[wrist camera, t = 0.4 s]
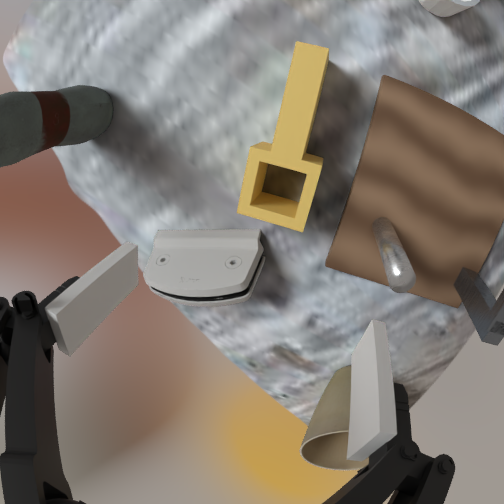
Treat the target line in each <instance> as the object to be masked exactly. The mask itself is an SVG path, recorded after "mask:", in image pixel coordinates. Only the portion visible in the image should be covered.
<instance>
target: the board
mask: <svg viewBox="0 0 504 504" xmlns="http://www.w3.org/2000/svg"><path fill="white" fill-rule="evenodd" d="M379 217H385V218H387V219H389V220H390V222H391V224H392V226H393V228H394V230H395V232H396V234H397V236H398V238H399V240H400V242H401V244H402V246H403V248H404V251H405V253H406V255H407V257H408V259H409V261H410V264H411V266H412V268H413V270H414V273H415V275H416V282H415V284H414V286H413V287H412V288H411V289H410V290H409V291H407V292H408V293H412V294H415V295H418V296H421V297H424V298H427V299H430V300H434V301H437V302H440V303H443V304H446V305H449V306H452V307H455V308H458V307H459V306H460V304H461V302H462V300H461V298H460V296H459V294H458V292H457V291H456V289H455V287H454V285H453V284H454V282H455V281H456V279H457V277H458V275H459V273H460V271H461V270H462V268H463V267H465V268H467V269H470V270H472V271H475V272H477V273H479V271H480V269H481V267H482V265H483V263H484V261H485V259H486V257H487V255H488V253H489V251H490V249H491V247H492V245H493V243H494V240H495V238H496V236H497V234H498V232H499V229H500V227H501V225H502V222H503V220H504V135H503V134H501V133H500V132H498V131H497V130H495V129H494V128H492V127H490V126H489V125H487V124H486V123H484V122H482V121H481V120H479V119H477V118H476V117H474V116H472V115H470V114H469V113H467V112H465V111H463V110H461V109H460V108H458V107H456V106H454V105H452V104H450V103H448V102H446V101H444V100H442V99H440V98H438V97H436V96H434V95H432V94H430V93H427V92H425V91H423V90H421V89H419V88H416V87H414V86H412V85H409V84H407V83H404V82H402V81H399V80H397V79H394V78H392V77H389V76H386V75H383V76H382V78H381V82H380V87H379V91H378V95H377V99H376V103H375V107H374V111H373V114H372V118H371V122H370V126H369V129H368V133H367V136H366V140H365V144H364V147H363V150H362V154H361V157H360V161H359V164H358V167H357V170H356V174H355V177H354V180H353V183H352V186H351V190H350V193H349V196H348V199H347V202H346V205H345V208H344V211H343V214H342V217H341V220H340V222H339V225H338V228H337V231H336V234H335V237H334V240H333V242H332V245H331V248H330V251H329V253H328V256H327V259H326V263H325V266H326V267H329V268H332V269H335V270H339V271H342V272H345V273H348V274H351V275H355V276H358V277H361V278H364V279H367V280H371V281H374V282H377V283H380V284H383V285H386V286H389V283H388V279H387V276H386V272H385V268H384V265H383V262H382V258H381V255H380V252H379V248H378V245H377V242H376V239H375V236H374V233H373V230H372V224H373V222H374V221H375V220H376V219H377V218H379Z"/></svg>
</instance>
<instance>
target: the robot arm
mask: <svg viewBox="0 0 504 504" xmlns="http://www.w3.org/2000/svg"><path fill="white" fill-rule="evenodd" d="M137 285H138V245H135V244H132V243H130V242H126V243H124V244H123V245H122V246H120V247H119V248H118V249H116V250H115V251H114V252H112V253H111V254H110V255H109V256H107V257H106V258H104V259H103V260H102V261H101V262H99V263H98V264H97V265H96V266H94V267H93V268H92V269H90V270H89V271H88V272H87V273H85V274H84V275H83V276H82V277H78V276H76V277H73V278H71V279H68V280H67V281H66V282H64V283H63V284H62V285H61V286H60V287H58V288H57V289H56V291H53V292H52V293H51V294H50V295H49V296H47V297H46V298H45V299H44V300H43V301H41V303H39V304H38V303H37V300H36V296H35V295H34V294H33V293H32V292H30V291H22V292H20V293H18V294H16V295H15V296H14V297H13V299H12V304H13V307H10V305H9V302H8V300H7V299H6V298H4V297H0V415H1V411H2V407H3V403H4V399H5V396H6V402H5V440H6V451H5V452H4V453H2V454H1V456H0V471H1V480H2V487H3V494H4V500H5V504H86V503H84V502H82V501H79V502H78V501H75V500H73V498H72V494H71V490H70V487H69V484H68V482H67V480H66V478H65V476H64V474H63V469H62V464H61V458H60V451H59V444H58V437H57V428H56V419H55V418H56V417H55V403H54V380H53V379H54V378H53V355H54V350H53V345H54V343H55V342H57V345H58V348H59V350H60V351H62V352H63V353H65V354H66V355H68V356H71V355H72V354H73V353H74V352H75V351H76V350H77V348H78V347H79V346H80V345H81V344H82V343H83V342H84V341H85V340H86V339H87V338H88V337H89V335H90V334H91V333H92V332H93V331H94V330H95V329H96V328H97V327H98V326H99V325H100V323H102V321H103V320H104V319H105V318H106V317H107V316H108V315H109V314H110V313H111V312H112V311H113V310H114V309H115V308H116V307H117V306H118V305H119V304H120V303H121V302H122V301H123V300H124V299H125V298H126V297H127V296H128V295H129V294H130V293H131V292H132V291H133V290H134V288H136V287H137ZM368 457H369V464H368V465H366V466H365V467H363V468H362V469H360V470H359V471H358V474H357V475H355V476H354V477H353V478H352V479H351V480H350V481H349V482H348V483H347V484H345V485H344V486H343V487H342V488H341V489H340V490H338V491H337V492H336V493H335V494H334V495H332V496H331V497H330V498H329V499H327V500H326V501H325V502H324V503H322V504H383V502H384V501H385V500H386V499H387V498H388V497H389V496H390V495H391V494H392V492H393V491H394V490H395V491H394V493H393V495H392V496H391V498H390V500H389V502H388V504H443V503H444V501H445V498H446V496H447V493H448V490H449V487H450V484H451V481H452V478H453V475H454V472H455V464H454V461H453V459H452V458H451V457H450V456H448V455H445V454H442V455H439V456H438V457H436V458H432V457H430V456H427V455H425V454H423V453H421V452H420V450H419V447H418V445H417V444H416V443H415V442H413V441H412V436H411V424H410V413H409V405H408V394H407V392H406V390H405V388H404V386H403V384H397V383H393V375H392V367H391V359H390V351H389V344H388V337H387V331H386V325H385V322H381V321H377V320H374V319H372V321H371V322H370V324H369V326H368V328H367V329H366V331H365V333H364V335H363V336H362V338H361V340H360V341H359V343H358V345H357V346H356V348H355V350H354V351H353V353H352V354H351V403H350V422H349V437H348V449H347V460H354V461H363V460H365V459H366V458H368Z"/></svg>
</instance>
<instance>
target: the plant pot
mask: <svg viewBox="0 0 504 504" xmlns="http://www.w3.org/2000/svg"><path fill="white" fill-rule="evenodd" d="M350 403H351V365H350V366H346V367H343V368H341V369H339V370H338V371H337V372H336V373H335V374H334V375H333V377H332V379H331V380H330V382H329V384H328V385H327V387H326V389H325V391H324V393H323V395H322V397H321V399H320V401H319V403H318V405H317V407H316V409H315V411H314V414H313V416H312V418H311V421H310V423H309V426H308V429H307V431H306V434H305V437H304V439H303V442H302V445H301V448H300V454H301V457H302V458H303V459H304V460H305V461H307V462H308V463H310V464H312V465H315V466H318V467H321V468H326V469H332V470H357V469H362V468H363V467H365V466H366V465H368V464H369V457H368V458H366V459H365V460H363V461H354V460H347V449H348V437H349V422H350Z"/></svg>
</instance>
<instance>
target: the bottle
mask: <svg viewBox="0 0 504 504" xmlns="http://www.w3.org/2000/svg"><path fill="white" fill-rule="evenodd" d="M112 114H113V105H112V101H111V98H110V96H109V95H108V94H107V92H106V91H104V90H102V89H100V88H97V87H92V86H85V85H78V86H73V87H68V88H64V89H60V90H56V91H36V92H8V93H5V94H2V95H0V167H3V166H8V165H12V164H15V163H17V162H19V161H21V160H23V159H25V158H27V157H29V156H31V155H34V154H36V153H39V152H41V151H43V150H46V149H49V148H51V147H54V146H66V145H76V144H81V143H84V142H87V141H89V140H92V139H94V138H96V137H97V136H99V135H100V134H102V133H103V132H104V131H105V130H106V129H107V128H108V126H109V124H110V122H111V120H112Z"/></svg>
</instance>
